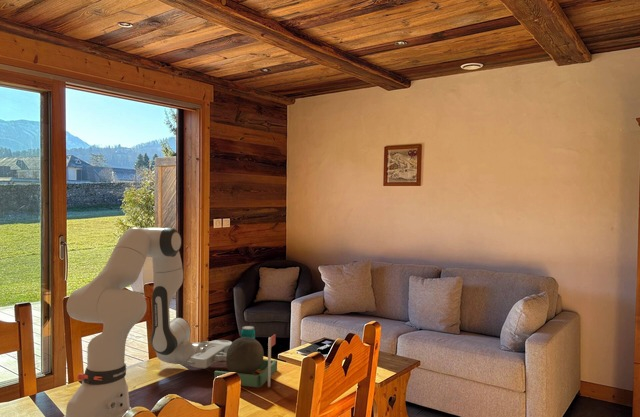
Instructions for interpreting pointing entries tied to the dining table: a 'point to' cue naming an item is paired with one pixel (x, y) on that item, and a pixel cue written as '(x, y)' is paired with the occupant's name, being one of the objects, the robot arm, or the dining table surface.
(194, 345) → the robot arm
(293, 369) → the dining table surface
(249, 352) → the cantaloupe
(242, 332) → the beverage can
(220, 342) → the ramekin
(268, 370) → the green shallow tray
